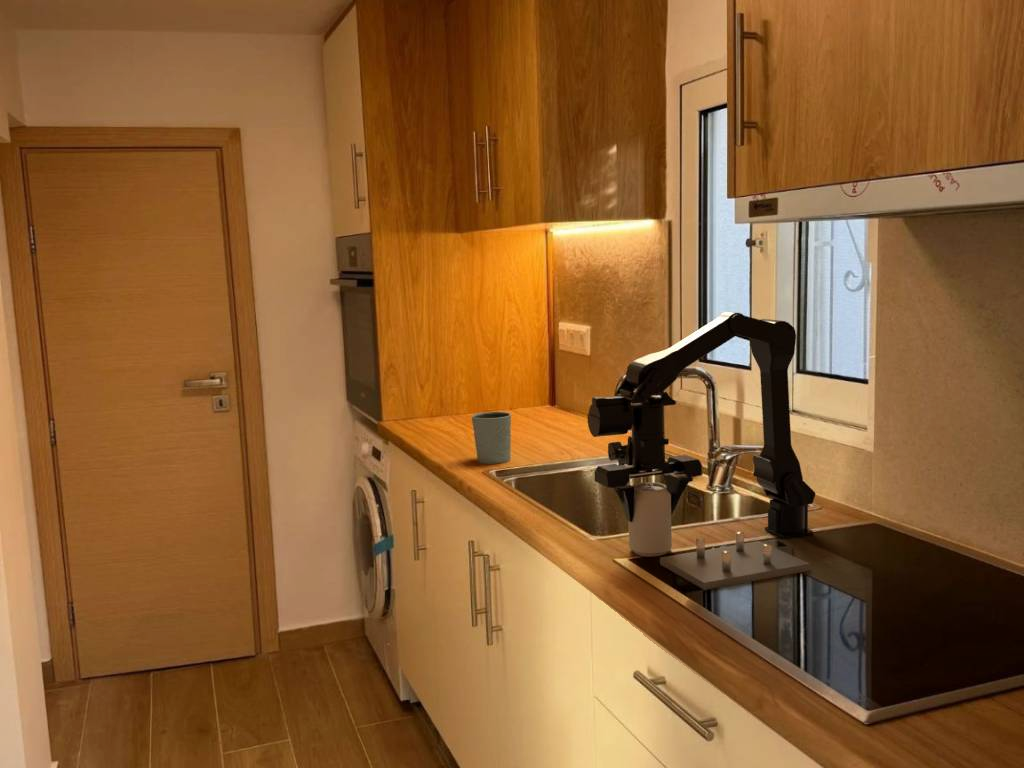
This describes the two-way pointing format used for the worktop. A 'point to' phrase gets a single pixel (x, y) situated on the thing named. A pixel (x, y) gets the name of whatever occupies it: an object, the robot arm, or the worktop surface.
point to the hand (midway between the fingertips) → (649, 518)
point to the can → (651, 520)
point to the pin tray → (733, 563)
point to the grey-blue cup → (492, 437)
